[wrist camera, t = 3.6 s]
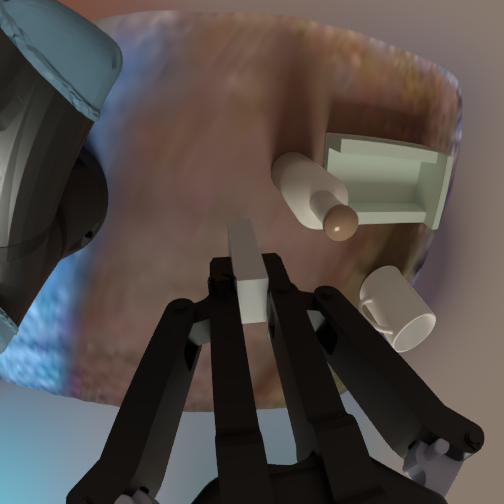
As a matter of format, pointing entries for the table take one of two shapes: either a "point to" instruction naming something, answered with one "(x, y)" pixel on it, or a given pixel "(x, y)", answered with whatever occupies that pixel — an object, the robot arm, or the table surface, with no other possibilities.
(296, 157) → the bottle
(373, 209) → the cradle
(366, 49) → the table surface
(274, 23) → the table surface
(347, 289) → the table surface
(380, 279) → the mug
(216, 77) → the table surface
